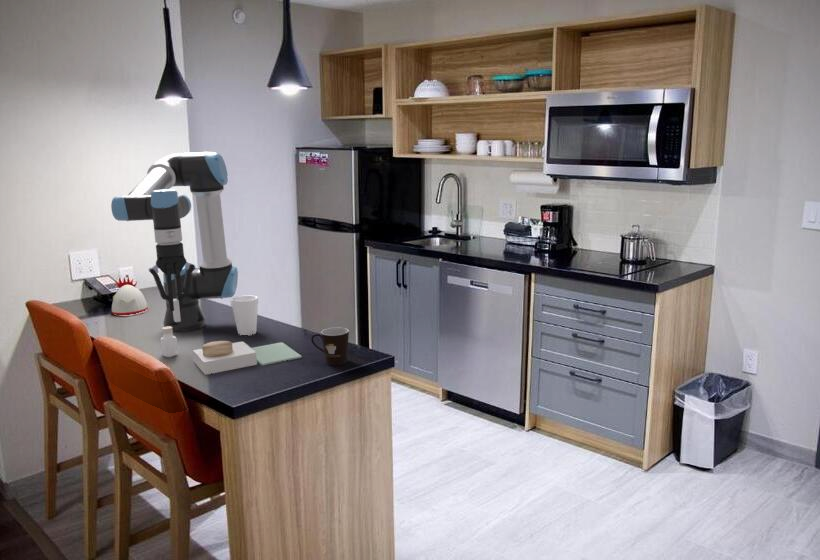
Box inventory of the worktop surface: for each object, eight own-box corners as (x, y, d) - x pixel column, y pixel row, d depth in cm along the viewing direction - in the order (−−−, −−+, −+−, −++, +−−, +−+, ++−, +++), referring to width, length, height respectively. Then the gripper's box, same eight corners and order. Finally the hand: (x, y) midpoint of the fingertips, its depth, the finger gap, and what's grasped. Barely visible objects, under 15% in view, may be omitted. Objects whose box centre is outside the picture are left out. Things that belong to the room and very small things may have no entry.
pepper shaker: (172, 352, 226) (169, 325, 224) (179, 354, 224) (175, 327, 222) (161, 355, 223) (158, 328, 221) (168, 358, 221) (164, 330, 219)
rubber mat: (244, 350, 226) (244, 349, 225) (282, 343, 232) (282, 342, 232) (262, 365, 210) (262, 363, 210) (301, 357, 217) (301, 355, 217)
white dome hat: (114, 310, 286) (109, 275, 283) (149, 306, 290) (145, 272, 287) (110, 318, 273) (105, 281, 270) (147, 314, 277) (142, 278, 274)
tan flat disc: (199, 351, 213) (199, 343, 213) (228, 346, 218) (227, 339, 217) (206, 358, 206) (206, 351, 205) (236, 353, 210) (235, 346, 210)
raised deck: (194, 362, 216) (193, 350, 215) (243, 352, 223) (242, 341, 223) (205, 374, 204) (204, 362, 203) (257, 364, 212) (256, 352, 211)
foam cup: (231, 332, 248) (228, 297, 245) (256, 328, 252) (253, 294, 249) (237, 338, 240) (234, 302, 237) (263, 334, 244) (260, 299, 241)
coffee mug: (356, 361, 212) (354, 330, 210) (335, 368, 206) (333, 337, 203) (331, 354, 219) (329, 324, 217) (310, 361, 213) (308, 330, 211)
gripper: (148, 246, 192) (156, 327, 197) (194, 242, 199) (202, 319, 204) (143, 243, 199) (152, 321, 204) (189, 239, 205) (196, 314, 210)
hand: (177, 320), depth 204 cm, fingers closed
